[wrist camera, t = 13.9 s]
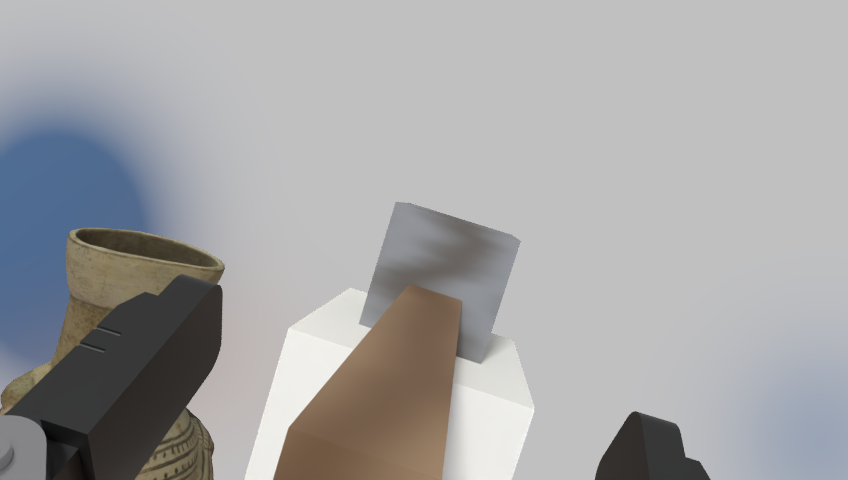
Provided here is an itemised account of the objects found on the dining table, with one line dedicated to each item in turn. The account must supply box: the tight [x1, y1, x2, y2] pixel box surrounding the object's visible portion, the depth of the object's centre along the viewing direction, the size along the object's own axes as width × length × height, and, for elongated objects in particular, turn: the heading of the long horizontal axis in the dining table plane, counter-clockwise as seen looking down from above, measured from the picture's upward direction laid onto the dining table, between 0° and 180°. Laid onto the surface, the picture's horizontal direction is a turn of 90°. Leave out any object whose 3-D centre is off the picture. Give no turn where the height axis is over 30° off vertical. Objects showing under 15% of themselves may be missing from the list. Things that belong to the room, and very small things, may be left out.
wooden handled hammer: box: [273, 202, 521, 480], centre depth 25 cm, size 7×28×7 cm, turn 175°
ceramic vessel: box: [0, 228, 225, 480], centre depth 48 cm, size 19×21×30 cm
